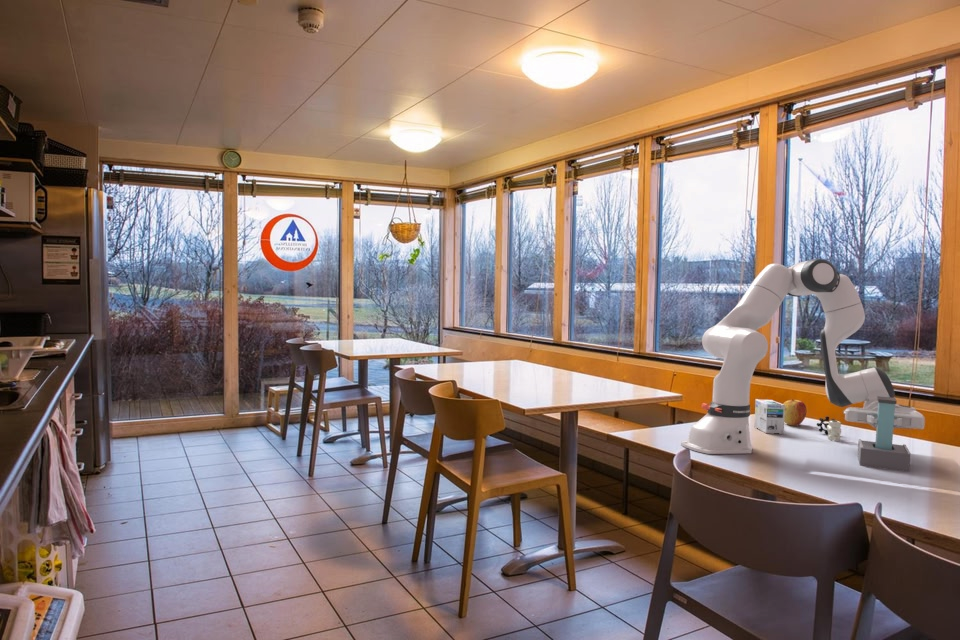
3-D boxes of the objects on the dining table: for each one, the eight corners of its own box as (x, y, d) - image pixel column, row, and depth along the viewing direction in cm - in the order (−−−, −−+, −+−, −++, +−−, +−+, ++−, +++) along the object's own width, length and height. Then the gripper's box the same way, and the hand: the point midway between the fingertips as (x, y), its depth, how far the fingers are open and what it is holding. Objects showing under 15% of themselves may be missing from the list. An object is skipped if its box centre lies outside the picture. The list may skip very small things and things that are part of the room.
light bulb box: (784, 434, 229) (786, 404, 229) (765, 433, 229) (767, 403, 229) (771, 427, 240) (772, 399, 240) (753, 427, 240) (754, 398, 240)
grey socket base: (909, 475, 180) (910, 453, 180) (859, 468, 186) (860, 447, 185) (904, 465, 191) (905, 444, 190) (857, 459, 196) (858, 439, 196)
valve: (846, 442, 220) (836, 434, 231) (847, 423, 219) (837, 416, 231) (824, 440, 221) (816, 433, 233) (826, 421, 221) (817, 415, 233)
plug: (892, 462, 185) (896, 400, 183) (874, 459, 187) (878, 399, 185) (890, 457, 189) (895, 397, 187) (873, 455, 191) (877, 396, 189)
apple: (804, 428, 241) (805, 402, 240) (777, 425, 245) (779, 399, 245) (806, 424, 248) (808, 399, 248) (781, 421, 253) (782, 396, 253)
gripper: (843, 400, 203) (845, 407, 191) (921, 408, 193) (928, 415, 181) (842, 420, 203) (843, 428, 191) (919, 428, 194) (926, 437, 181)
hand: (885, 422), depth 186 cm, fingers closed on plug, 4 cm apart
